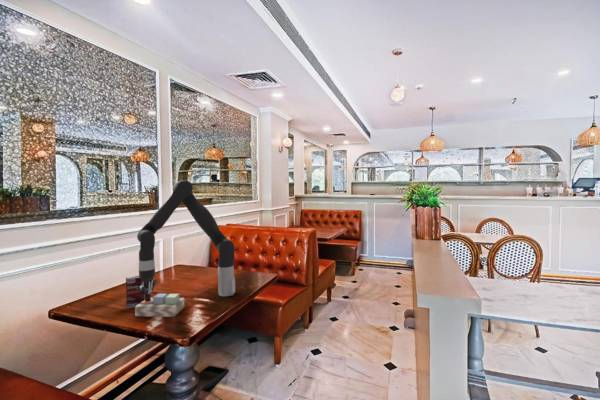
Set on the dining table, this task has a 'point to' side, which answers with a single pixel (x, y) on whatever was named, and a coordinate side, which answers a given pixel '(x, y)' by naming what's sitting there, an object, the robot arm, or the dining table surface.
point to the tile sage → (172, 299)
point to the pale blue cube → (159, 299)
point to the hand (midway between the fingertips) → (148, 300)
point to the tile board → (159, 309)
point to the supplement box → (133, 291)
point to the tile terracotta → (147, 302)
